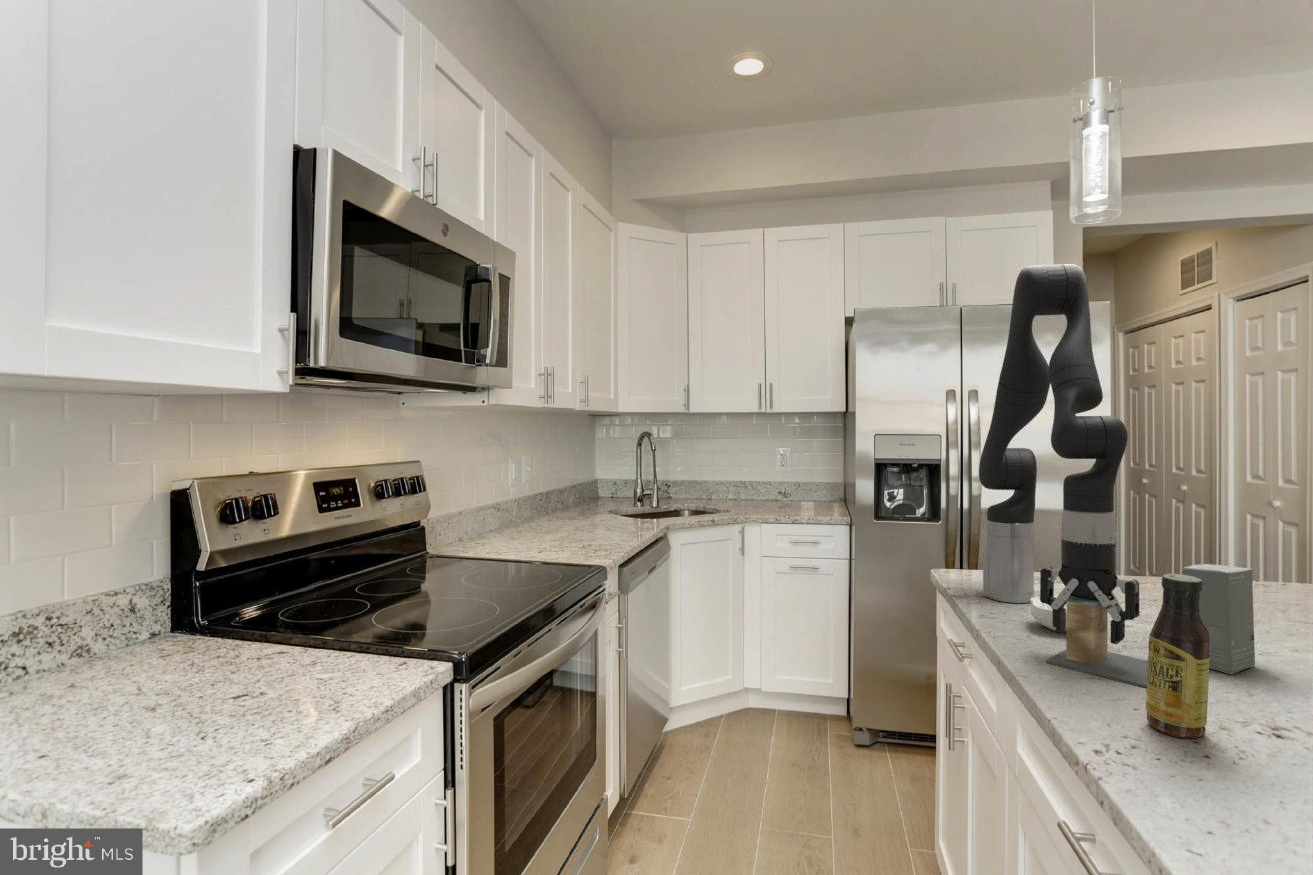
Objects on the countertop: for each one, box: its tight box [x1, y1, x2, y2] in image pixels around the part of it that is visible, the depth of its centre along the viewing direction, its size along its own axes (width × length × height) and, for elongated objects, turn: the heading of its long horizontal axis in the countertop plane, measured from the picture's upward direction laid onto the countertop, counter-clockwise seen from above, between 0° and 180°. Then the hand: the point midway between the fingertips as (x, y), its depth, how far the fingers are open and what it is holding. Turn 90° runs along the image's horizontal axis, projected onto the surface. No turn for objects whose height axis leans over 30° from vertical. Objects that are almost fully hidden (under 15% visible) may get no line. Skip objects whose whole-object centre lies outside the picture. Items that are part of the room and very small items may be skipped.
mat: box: [1045, 649, 1148, 689], centre depth 110 cm, size 16×12×1 cm
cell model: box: [1029, 594, 1067, 632], centre depth 130 cm, size 10×12×7 cm
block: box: [1065, 596, 1109, 666], centre depth 113 cm, size 4×6×10 cm, turn 129°
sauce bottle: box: [1145, 573, 1210, 739], centre depth 88 cm, size 7×6×20 cm
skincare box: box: [1182, 563, 1256, 675], centre depth 111 cm, size 8×7×16 cm
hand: (1087, 636), depth 113 cm, fingers open, 7 cm apart
